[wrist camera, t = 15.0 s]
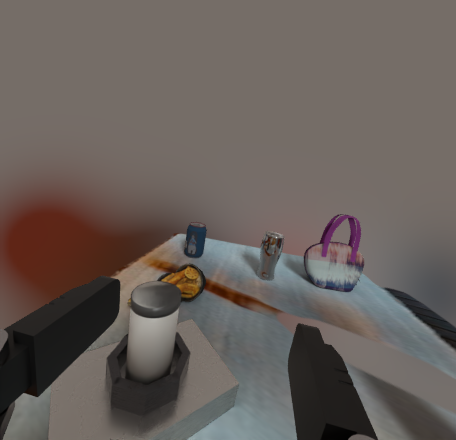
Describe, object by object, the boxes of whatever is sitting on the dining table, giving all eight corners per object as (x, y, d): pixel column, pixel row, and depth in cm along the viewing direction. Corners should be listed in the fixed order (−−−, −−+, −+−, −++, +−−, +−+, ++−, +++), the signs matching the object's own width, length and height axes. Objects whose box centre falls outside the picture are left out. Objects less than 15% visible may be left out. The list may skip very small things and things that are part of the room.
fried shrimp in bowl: (221, 281, 53) (173, 285, 38) (194, 312, 55) (138, 328, 39) (200, 256, 58) (150, 250, 42) (176, 286, 59) (119, 290, 43)
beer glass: (252, 270, 74) (260, 230, 71) (270, 271, 75) (279, 232, 72) (259, 280, 67) (268, 236, 64) (278, 281, 69) (289, 238, 66)
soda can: (199, 251, 83) (204, 222, 80) (204, 258, 77) (209, 227, 74) (182, 251, 80) (186, 221, 77) (186, 259, 74) (190, 226, 71)
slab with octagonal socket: (189, 336, 40) (194, 304, 39) (234, 406, 29) (243, 365, 28) (53, 387, 28) (52, 343, 26) (44, 538, 17) (43, 477, 16)
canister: (162, 350, 32) (171, 278, 29) (177, 382, 27) (189, 301, 25) (120, 366, 28) (126, 285, 26) (130, 406, 24) (138, 314, 21)
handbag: (349, 281, 79) (370, 217, 74) (365, 296, 70) (390, 224, 64) (294, 271, 79) (310, 207, 74) (302, 285, 69) (322, 212, 64)
